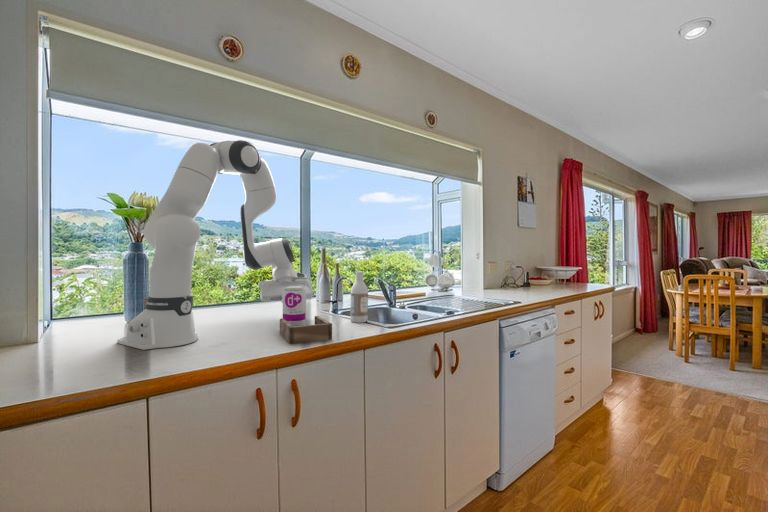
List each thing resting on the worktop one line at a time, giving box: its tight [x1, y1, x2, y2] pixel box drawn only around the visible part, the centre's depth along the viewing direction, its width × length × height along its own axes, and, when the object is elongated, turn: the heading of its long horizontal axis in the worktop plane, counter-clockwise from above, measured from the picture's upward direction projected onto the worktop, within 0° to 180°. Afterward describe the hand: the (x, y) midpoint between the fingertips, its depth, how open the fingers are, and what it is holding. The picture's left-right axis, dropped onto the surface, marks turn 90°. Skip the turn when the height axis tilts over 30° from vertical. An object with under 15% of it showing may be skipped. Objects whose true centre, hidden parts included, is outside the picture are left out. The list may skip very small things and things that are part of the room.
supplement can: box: [282, 286, 307, 327], centre depth 134 cm, size 8×8×15 cm
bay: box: [279, 315, 333, 345], centre depth 121 cm, size 15×13×5 cm
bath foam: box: [349, 270, 369, 324], centre depth 147 cm, size 7×7×20 cm
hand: (290, 307), depth 140 cm, fingers closed
